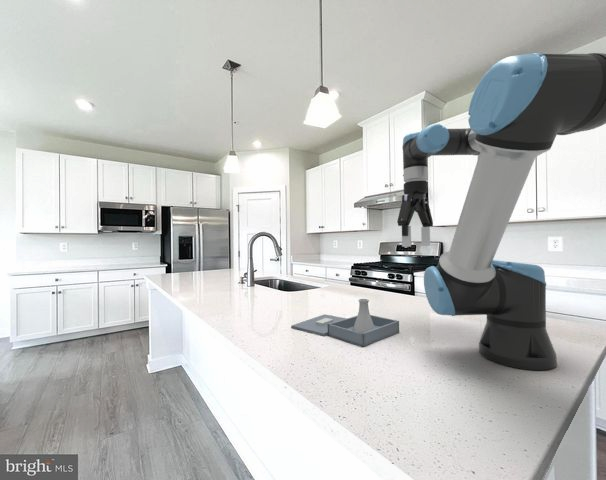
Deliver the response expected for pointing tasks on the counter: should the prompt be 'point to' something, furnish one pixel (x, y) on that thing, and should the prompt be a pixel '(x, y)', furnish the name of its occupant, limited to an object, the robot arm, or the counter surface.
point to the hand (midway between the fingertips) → (416, 246)
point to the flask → (363, 318)
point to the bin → (381, 331)
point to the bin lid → (317, 324)
